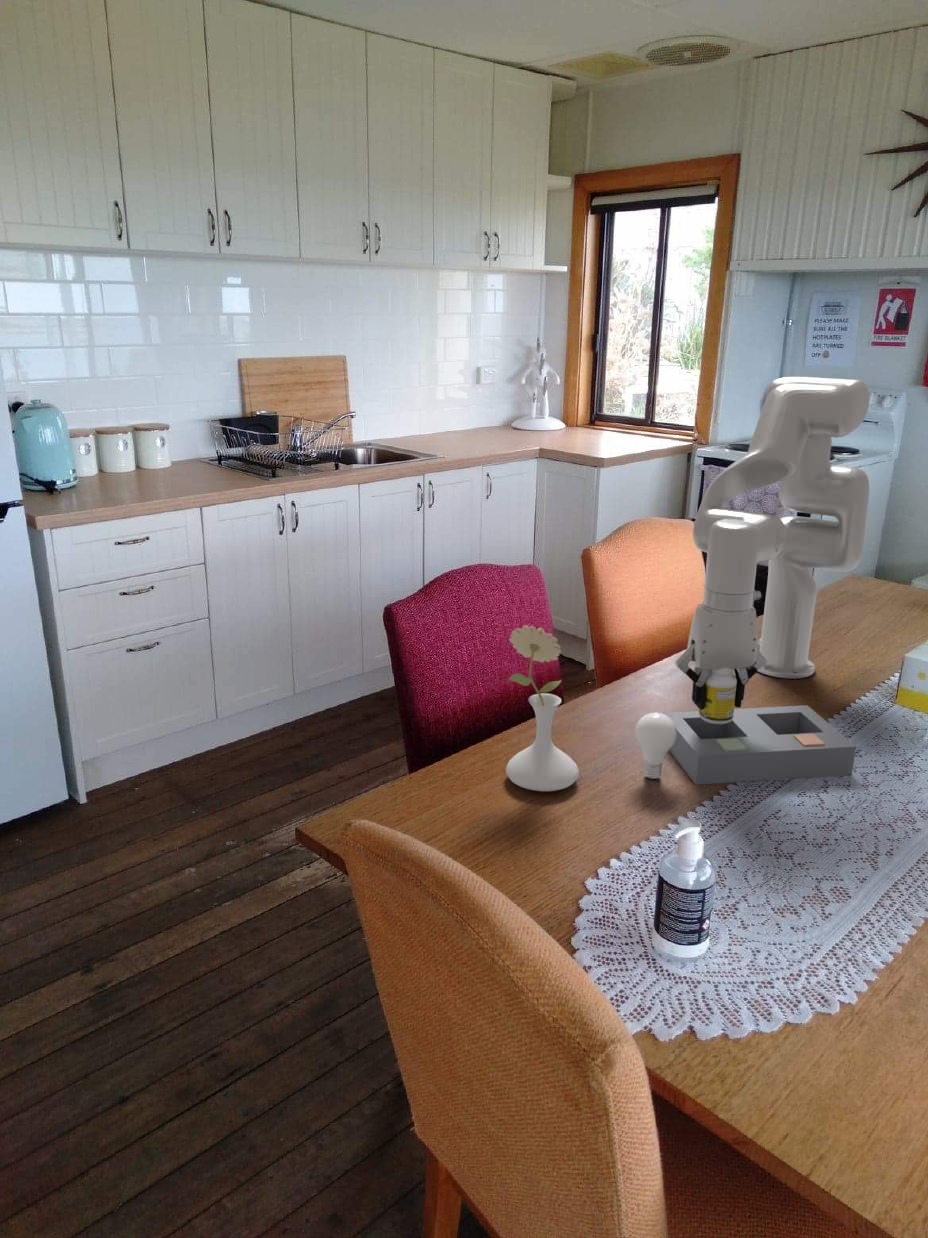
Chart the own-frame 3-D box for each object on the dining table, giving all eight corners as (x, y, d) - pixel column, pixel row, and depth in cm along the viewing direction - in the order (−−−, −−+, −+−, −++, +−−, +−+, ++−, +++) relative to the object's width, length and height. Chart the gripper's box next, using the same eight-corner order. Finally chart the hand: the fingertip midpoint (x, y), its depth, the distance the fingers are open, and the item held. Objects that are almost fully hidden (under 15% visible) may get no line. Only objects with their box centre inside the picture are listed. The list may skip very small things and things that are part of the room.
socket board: (661, 739, 159) (663, 711, 158) (803, 731, 163) (807, 703, 161) (695, 784, 144) (698, 754, 143) (851, 774, 148) (856, 744, 146)
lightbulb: (675, 772, 148) (680, 709, 145) (669, 790, 142) (675, 725, 139) (635, 765, 150) (639, 703, 147) (628, 783, 144) (633, 719, 141)
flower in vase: (593, 780, 145) (601, 630, 137) (546, 807, 138) (552, 649, 130) (530, 753, 154) (534, 610, 146) (482, 776, 146) (485, 627, 138)
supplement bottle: (694, 711, 154) (699, 656, 151) (725, 711, 155) (731, 656, 152) (704, 725, 149) (710, 669, 146) (737, 724, 150) (744, 668, 146)
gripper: (768, 590, 150) (756, 693, 156) (667, 594, 148) (658, 698, 154) (790, 604, 143) (776, 712, 149) (684, 608, 141) (674, 717, 146)
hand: (716, 704), depth 151 cm, fingers closed on supplement bottle, 5 cm apart
